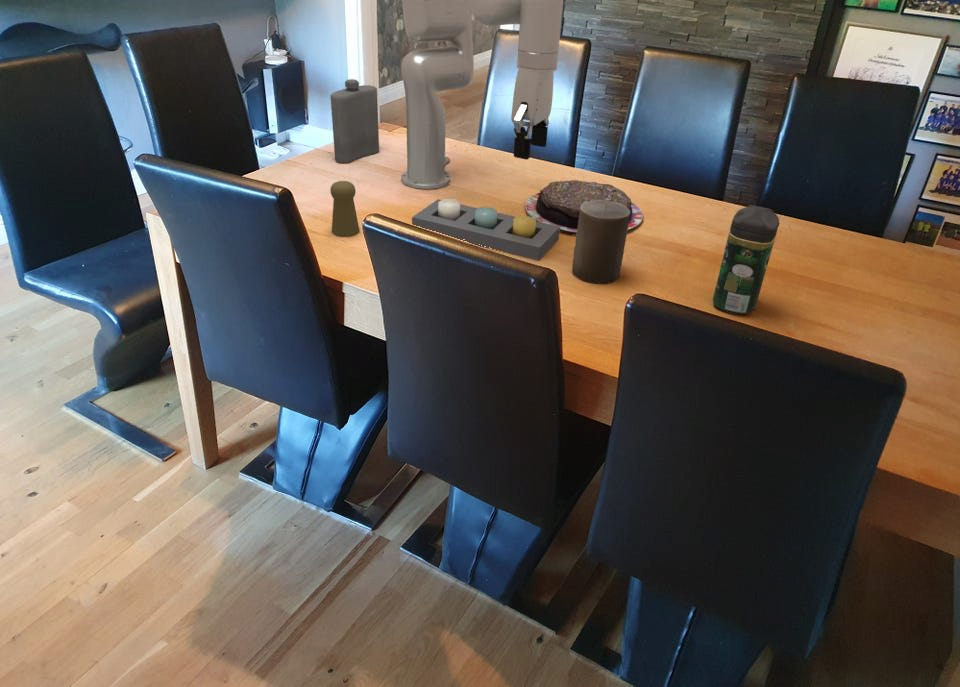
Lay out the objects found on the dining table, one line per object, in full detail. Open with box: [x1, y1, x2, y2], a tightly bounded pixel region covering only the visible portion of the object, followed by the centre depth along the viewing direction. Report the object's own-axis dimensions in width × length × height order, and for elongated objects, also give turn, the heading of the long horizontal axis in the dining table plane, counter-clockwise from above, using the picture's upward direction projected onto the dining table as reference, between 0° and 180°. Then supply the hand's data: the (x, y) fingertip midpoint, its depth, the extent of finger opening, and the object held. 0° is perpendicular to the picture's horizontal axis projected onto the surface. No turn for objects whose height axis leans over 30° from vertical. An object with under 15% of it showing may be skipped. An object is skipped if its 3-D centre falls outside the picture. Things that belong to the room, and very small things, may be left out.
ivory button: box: [438, 198, 461, 221], centre depth 158 cm, size 5×5×3 cm
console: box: [411, 198, 561, 261], centre depth 156 cm, size 12×30×3 cm, turn 65°
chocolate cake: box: [524, 179, 644, 236], centre depth 168 cm, size 28×28×7 cm
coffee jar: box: [712, 204, 781, 315], centre depth 130 cm, size 10×8×19 cm
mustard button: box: [512, 215, 536, 239], centre depth 151 cm, size 5×5×3 cm
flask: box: [329, 78, 380, 165], centre depth 191 cm, size 15×6×20 cm, turn 144°
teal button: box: [475, 206, 498, 230], centre depth 155 cm, size 5×5×3 cm
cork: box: [329, 180, 361, 238], centre depth 152 cm, size 6×6×11 cm
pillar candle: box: [571, 200, 630, 284], centre depth 140 cm, size 10×10×15 cm
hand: (530, 151), depth 142 cm, fingers open, 8 cm apart
